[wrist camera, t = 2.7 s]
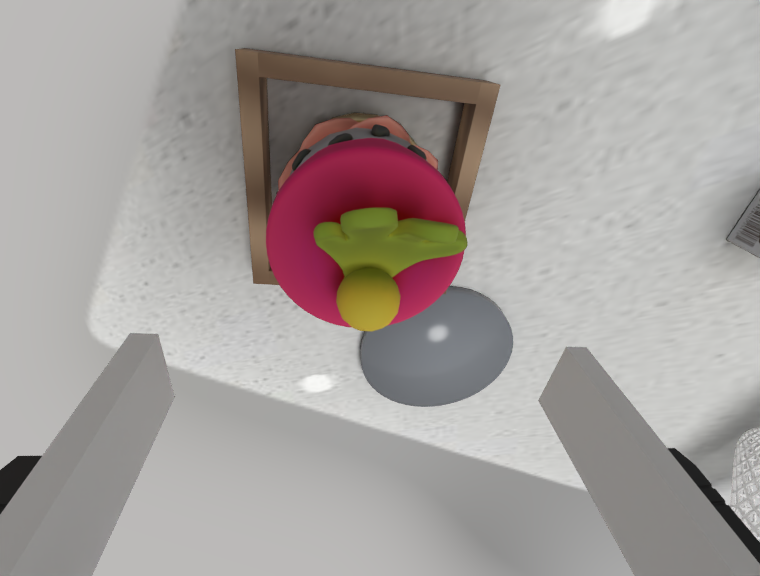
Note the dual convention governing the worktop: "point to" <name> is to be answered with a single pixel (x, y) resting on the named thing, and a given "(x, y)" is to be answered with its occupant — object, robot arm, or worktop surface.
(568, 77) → the worktop surface
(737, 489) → the heart
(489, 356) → the plate
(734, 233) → the coffee box
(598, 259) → the worktop surface
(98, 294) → the worktop surface
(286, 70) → the frame
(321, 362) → the worktop surface
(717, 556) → the robot arm
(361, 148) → the cake
